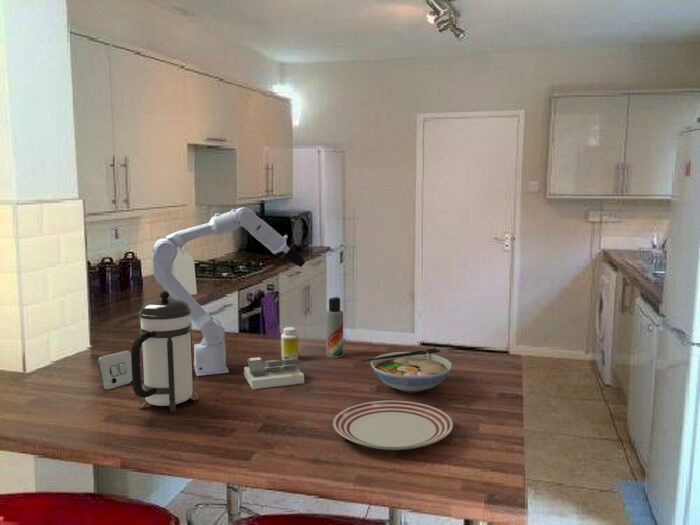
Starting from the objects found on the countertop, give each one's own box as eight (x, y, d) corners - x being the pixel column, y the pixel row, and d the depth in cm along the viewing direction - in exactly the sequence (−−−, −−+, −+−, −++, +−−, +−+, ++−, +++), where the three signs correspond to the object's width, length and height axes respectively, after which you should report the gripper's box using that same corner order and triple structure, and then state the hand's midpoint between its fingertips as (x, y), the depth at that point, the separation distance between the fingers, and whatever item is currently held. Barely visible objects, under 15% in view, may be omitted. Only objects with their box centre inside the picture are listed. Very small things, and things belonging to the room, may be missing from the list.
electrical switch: (105, 391, 160) (102, 358, 159) (96, 388, 163) (93, 356, 163) (136, 382, 167) (133, 350, 167) (127, 380, 170) (124, 349, 170)
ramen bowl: (388, 409, 147) (388, 378, 146) (354, 381, 168) (354, 354, 167) (471, 396, 156) (472, 366, 155) (429, 371, 177) (429, 345, 176)
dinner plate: (308, 433, 133) (308, 419, 133) (387, 402, 152) (387, 390, 152) (398, 475, 114) (399, 459, 113) (476, 433, 133) (476, 420, 132)
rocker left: (251, 375, 164) (252, 370, 163) (247, 362, 170) (247, 357, 169) (265, 373, 165) (266, 369, 165) (260, 361, 171) (261, 356, 171)
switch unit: (252, 389, 161) (252, 377, 161) (244, 375, 173) (244, 363, 173) (304, 383, 166) (304, 371, 166) (292, 369, 178) (292, 358, 178)
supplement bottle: (301, 359, 189) (301, 328, 188) (287, 362, 186) (286, 331, 185) (292, 355, 194) (291, 325, 192) (278, 358, 190) (277, 328, 189)
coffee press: (134, 398, 154) (128, 288, 150) (195, 390, 160) (191, 284, 156) (134, 423, 138) (128, 300, 134) (202, 413, 144) (198, 295, 140)
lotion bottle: (341, 358, 190) (341, 299, 187) (324, 357, 191) (324, 298, 188) (344, 354, 195) (344, 296, 193) (328, 353, 196) (328, 295, 194)
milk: (196, 294, 304) (195, 245, 301) (174, 296, 298) (172, 246, 295) (190, 290, 314) (189, 243, 311) (169, 292, 308) (167, 244, 305)
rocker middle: (269, 367, 165) (268, 361, 166) (264, 366, 172) (263, 361, 172) (282, 365, 167) (282, 360, 167) (277, 365, 173) (277, 359, 174)
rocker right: (286, 365, 167) (285, 359, 167) (280, 364, 174) (280, 359, 174) (299, 364, 169) (298, 358, 169) (293, 363, 175) (293, 358, 175)
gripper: (280, 227, 172) (314, 255, 177) (270, 224, 185) (301, 250, 190) (266, 245, 171) (299, 273, 176) (256, 241, 184) (288, 267, 189)
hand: (299, 262), depth 183 cm, fingers open, 7 cm apart
